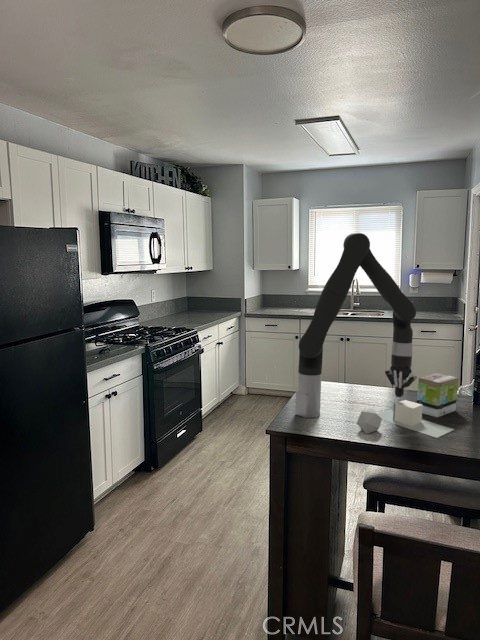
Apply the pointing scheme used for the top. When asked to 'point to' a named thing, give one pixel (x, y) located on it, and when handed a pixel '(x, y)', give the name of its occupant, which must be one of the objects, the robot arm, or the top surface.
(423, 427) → the mat
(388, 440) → the top surface
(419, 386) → the tea box
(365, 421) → the die
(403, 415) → the cream block
